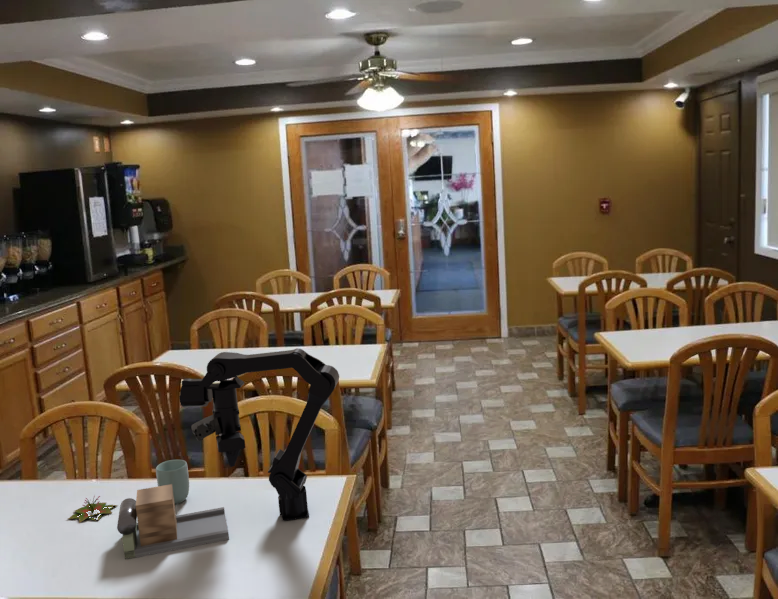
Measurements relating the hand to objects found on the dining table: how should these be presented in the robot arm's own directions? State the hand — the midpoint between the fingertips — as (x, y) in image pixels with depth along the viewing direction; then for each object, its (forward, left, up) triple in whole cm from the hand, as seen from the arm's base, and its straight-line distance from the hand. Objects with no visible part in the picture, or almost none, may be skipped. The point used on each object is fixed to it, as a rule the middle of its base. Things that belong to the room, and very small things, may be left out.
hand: (232, 466), depth 182 cm
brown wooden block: (+18, +6, -12) cm, 22 cm away
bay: (+14, +6, -13) cm, 20 cm away
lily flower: (+37, -14, -14) cm, 42 cm away
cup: (+16, -14, -13) cm, 25 cm away
